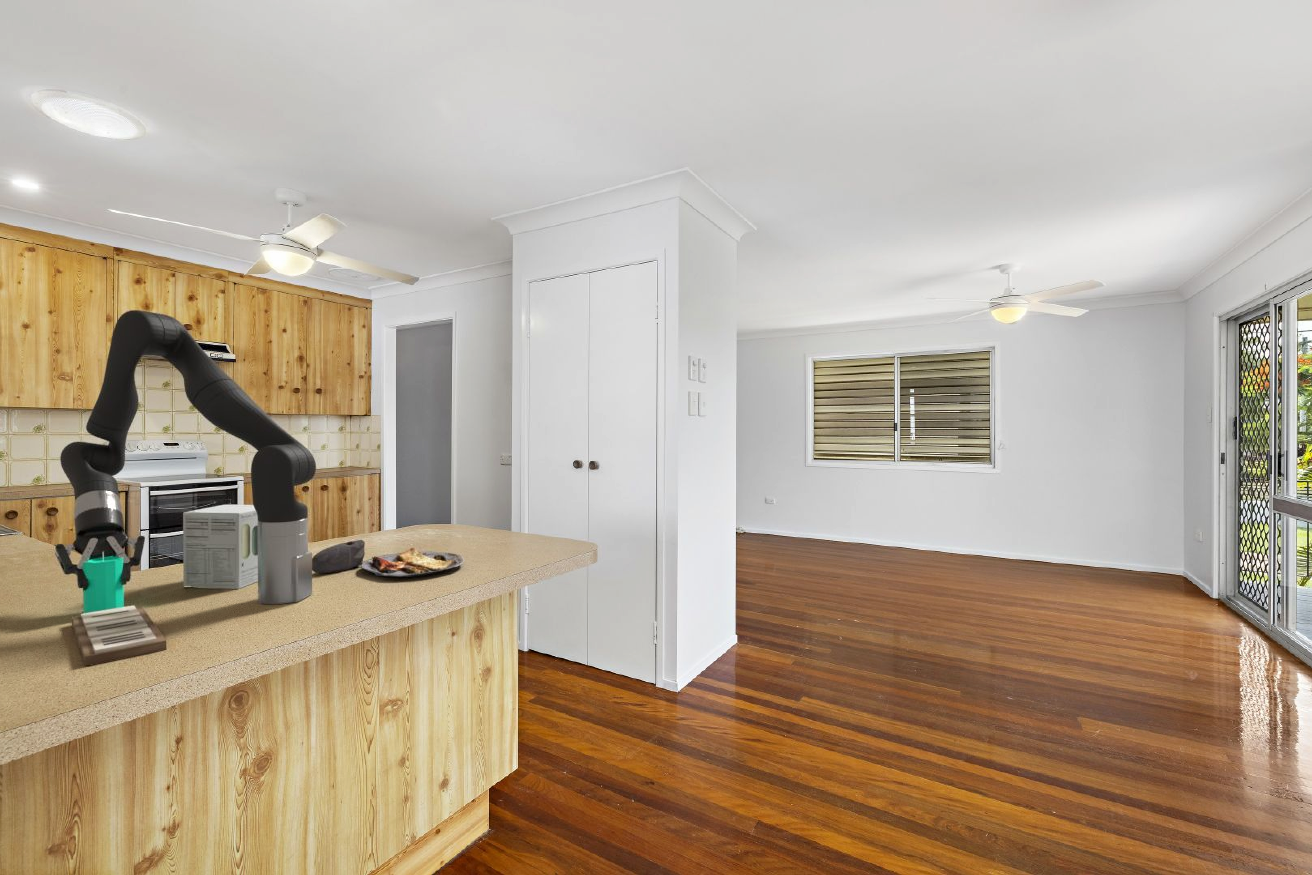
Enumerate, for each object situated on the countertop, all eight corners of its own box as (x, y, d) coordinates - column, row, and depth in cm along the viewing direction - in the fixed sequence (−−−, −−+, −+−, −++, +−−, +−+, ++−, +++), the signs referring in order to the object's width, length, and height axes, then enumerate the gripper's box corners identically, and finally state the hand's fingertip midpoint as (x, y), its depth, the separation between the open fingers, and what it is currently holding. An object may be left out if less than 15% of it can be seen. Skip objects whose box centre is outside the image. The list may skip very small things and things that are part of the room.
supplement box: (239, 589, 138) (238, 512, 138) (182, 588, 138) (181, 512, 138) (276, 574, 151) (276, 504, 151) (224, 573, 152) (224, 503, 151)
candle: (99, 617, 118) (98, 556, 118) (75, 615, 119) (74, 554, 119) (131, 608, 124) (131, 549, 123) (108, 605, 125) (107, 547, 125)
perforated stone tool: (316, 578, 149) (316, 550, 149) (304, 575, 151) (304, 547, 151) (372, 566, 162) (372, 540, 161) (360, 563, 164) (360, 538, 164)
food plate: (343, 569, 157) (344, 556, 157) (423, 554, 176) (424, 542, 176) (400, 588, 143) (400, 573, 142) (480, 570, 162) (480, 557, 162)
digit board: (71, 625, 114) (71, 614, 114) (141, 613, 121) (141, 602, 121) (85, 666, 95) (85, 653, 95) (166, 649, 103) (166, 637, 102)
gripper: (51, 509, 121) (54, 581, 113) (144, 503, 131) (154, 568, 123) (50, 532, 125) (54, 603, 117) (141, 524, 135) (150, 588, 127)
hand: (105, 584), depth 120 cm, fingers closed on candle, 5 cm apart
